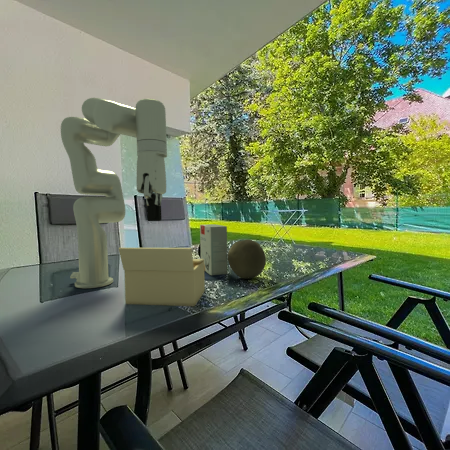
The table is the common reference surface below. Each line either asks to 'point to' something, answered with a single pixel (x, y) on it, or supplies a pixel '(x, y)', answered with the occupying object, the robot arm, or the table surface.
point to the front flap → (157, 259)
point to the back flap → (198, 260)
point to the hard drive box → (214, 248)
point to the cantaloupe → (246, 259)
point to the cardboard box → (165, 286)
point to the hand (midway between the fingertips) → (154, 220)
